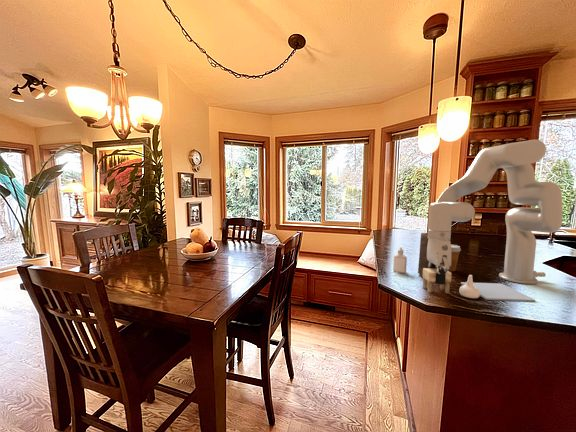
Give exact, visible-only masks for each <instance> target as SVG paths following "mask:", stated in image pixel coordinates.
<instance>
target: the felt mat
mask: <svg viewBox="0 0 576 432" xmlns="http://www.w3.org/2000/svg"><path fill="white" fill-rule="evenodd" d="M466 283H467V281H465V282H464V281H463V282H462V281H461V282H460V285H461V286H462V285H466ZM473 285H474V286H475V287H476V288H477V289H478V290H479V291H480V296H479V297H482V298H483V299H484V300H486V301H487V300H488V301H508V302H509V301H511V302H512V301H513V302H531V301H535V302H536V299H534V298H532V297H530V296H528V295H526V294H524V293H522V292H520V291H517V290H516V289H513V288H511V287H510V286H507V285H505V284H503V283H496V282H495V283H493V282H473Z"/></svg>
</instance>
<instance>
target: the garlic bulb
mask: <svg viewBox="0 0 576 432" xmlns="http://www.w3.org/2000/svg"><path fill="white" fill-rule="evenodd" d="M466 282H467V283H466V285H462V284H461V286H460V287H459V289H458V290H459V294H460V296H462V297H464V298H469V299H478V298H480V297H481V296H480V291H479V290H478V289H477V288H476V287H475V286H474V285H473V283H474V281H473V275H472V274H469V275H468V277H467V281H466Z"/></svg>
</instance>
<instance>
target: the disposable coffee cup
mask: <svg viewBox="0 0 576 432" xmlns="http://www.w3.org/2000/svg"><path fill="white" fill-rule="evenodd" d="M461 251H462V249H461V246H460V245H457V244H451V266H450V267H449V269H448V270H447V271H449V272H455V271H457V270H456V269H457V266H458V265H457V264H458V259H459V255H460V252H461ZM440 265H443V264H440ZM441 268H443V267H440V269H441Z"/></svg>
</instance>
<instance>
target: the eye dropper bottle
mask: <svg viewBox="0 0 576 432" xmlns="http://www.w3.org/2000/svg"><path fill="white" fill-rule="evenodd" d="M407 257H408V256H406V255H404V249H403V247H401V246H399V249H397V253H396V254H395V255H393V268H392V269H393V272H395V273H400V274H406V272H407V262H408V258H407Z"/></svg>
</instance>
